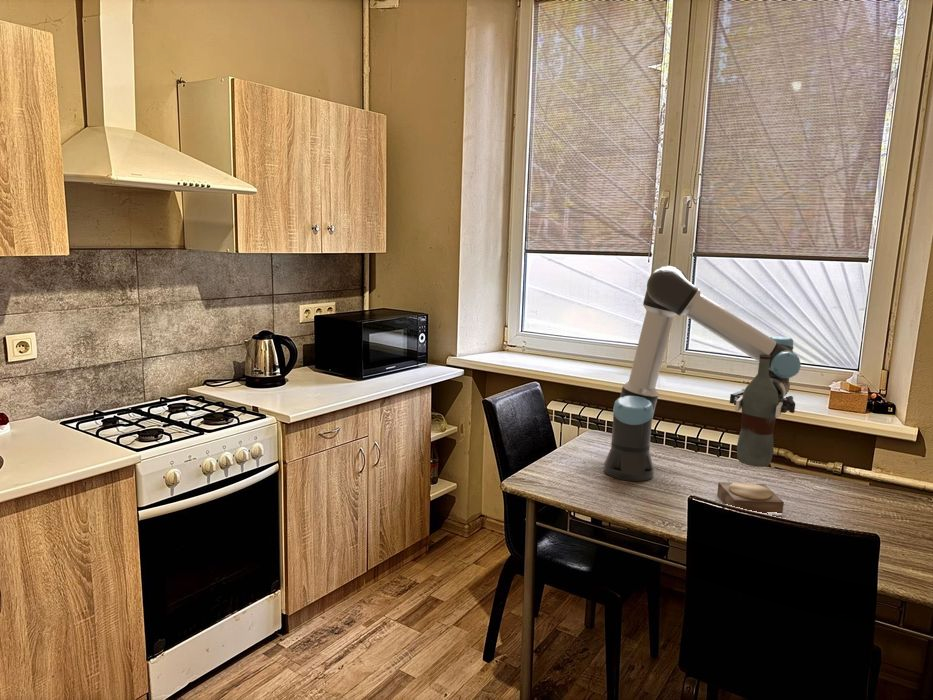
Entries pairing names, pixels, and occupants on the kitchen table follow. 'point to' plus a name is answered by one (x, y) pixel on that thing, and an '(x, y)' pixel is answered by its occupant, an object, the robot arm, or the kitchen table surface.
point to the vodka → (758, 418)
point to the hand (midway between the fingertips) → (757, 409)
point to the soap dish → (750, 497)
